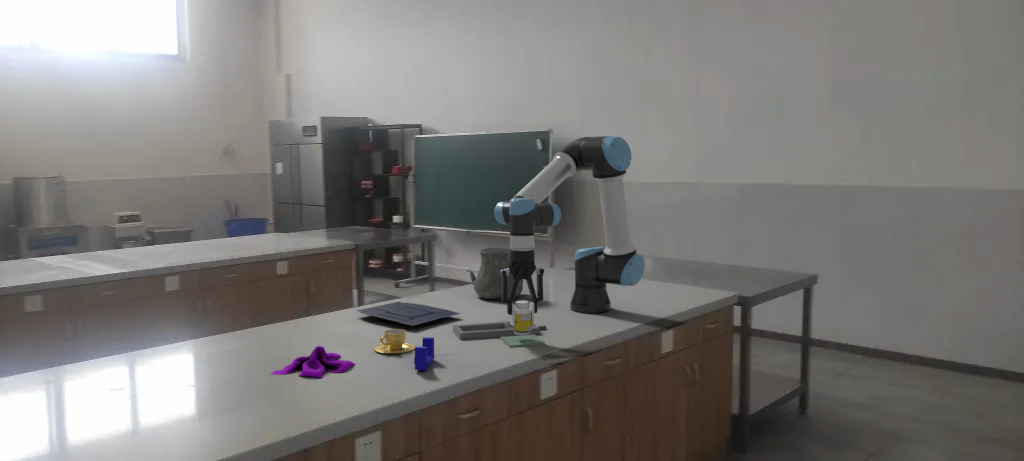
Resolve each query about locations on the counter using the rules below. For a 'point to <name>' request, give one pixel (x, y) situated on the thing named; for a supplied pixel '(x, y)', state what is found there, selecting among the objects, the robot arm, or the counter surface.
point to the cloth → (316, 364)
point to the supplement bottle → (522, 318)
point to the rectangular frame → (490, 330)
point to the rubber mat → (522, 340)
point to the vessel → (493, 274)
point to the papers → (407, 313)
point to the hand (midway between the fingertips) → (522, 324)
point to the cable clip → (424, 354)
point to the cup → (394, 342)
